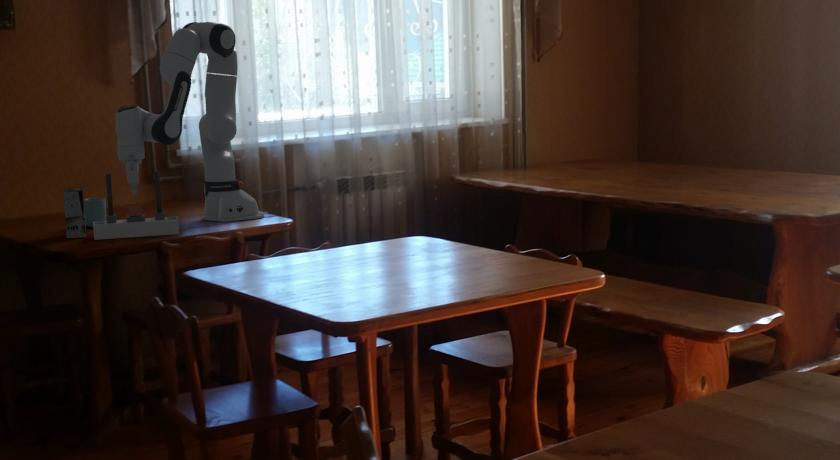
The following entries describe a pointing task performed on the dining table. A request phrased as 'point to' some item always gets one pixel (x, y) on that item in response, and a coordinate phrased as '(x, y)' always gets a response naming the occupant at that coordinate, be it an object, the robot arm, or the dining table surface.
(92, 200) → the cup
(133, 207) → the block
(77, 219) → the coffee box
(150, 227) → the power strip
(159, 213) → the cord
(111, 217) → the cord
